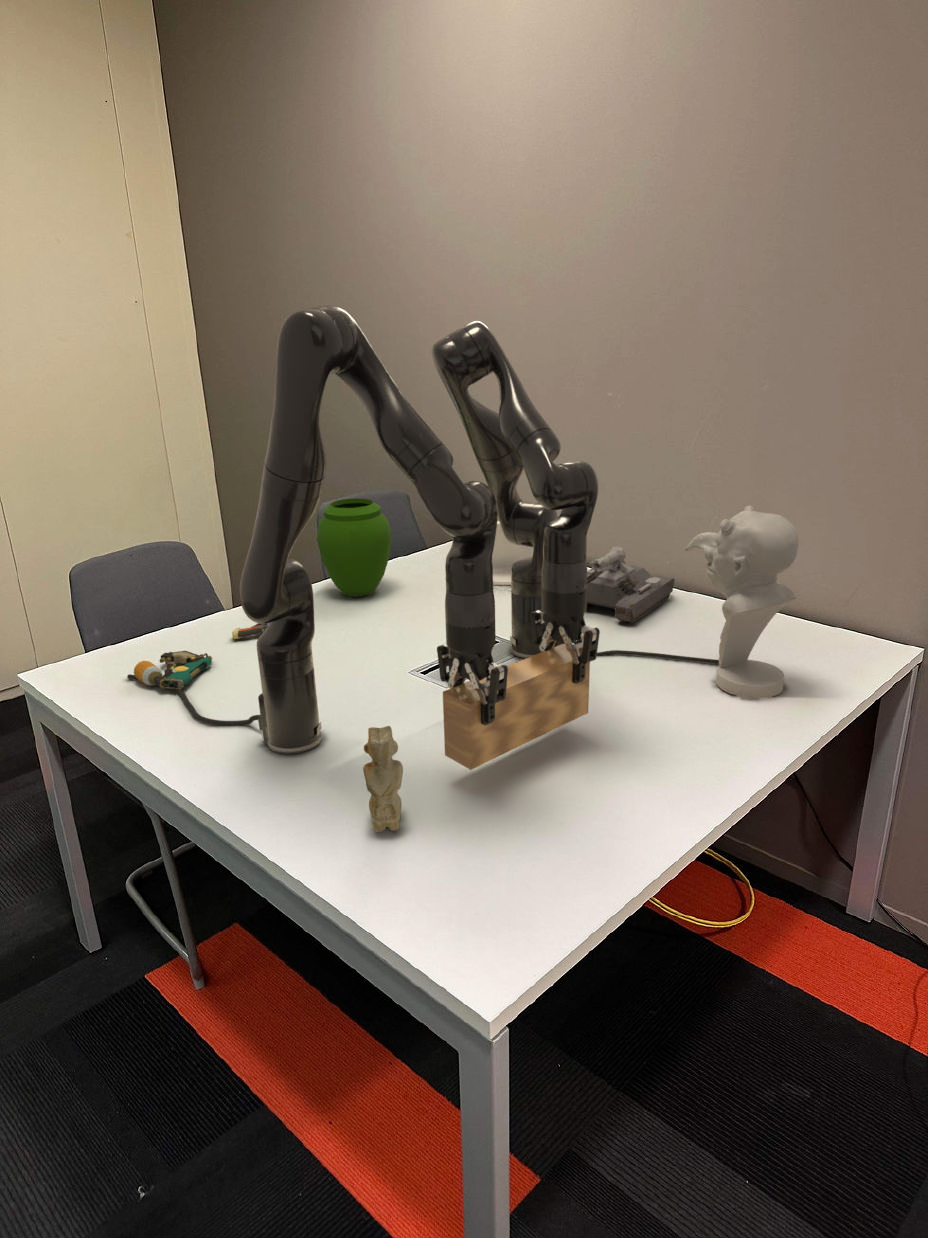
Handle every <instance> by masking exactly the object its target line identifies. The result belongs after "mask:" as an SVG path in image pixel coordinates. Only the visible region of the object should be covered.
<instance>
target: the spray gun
mask: <svg viewBox="0 0 928 1238" xmlns="http://www.w3.org/2000/svg"><path fill="white" fill-rule="evenodd" d="M212 660H213V657H212V656H211V655H208V653H207V652H205V653H201V654H197V653H194V652H192V651H191V652H190V651H188V650H180V651H169V652H164V653H162V654H161V655H160V658H159V660H158V662H159V663H161V664H163V663H165V664H166V668H165V670H163V672H164V674H163V673H162V669H160V668H159V666H157V665H156V664H154V663H152V662H151V661H149V660H141V661H139V662H138V663H136V665H135V666H134V668H133V675H135V677H136V678H137V679H139V680H138V681H140V682H142V683H143V684H145V685H147V686H155V685H157V686H158V687H160V688H161V689H171V690H174V689H181V690H182V689H184V687H185V686H186V685H188V684H189V683H190V682H191V681H192V679H193V678H195V677H196V676H197V675H198V674H200V673H201V672H202V671H203V670H206V669H208V668H209V667H210V666H211V665H212V662H213V661H212ZM178 663H179V664H181V665H179V666H176V665H177V664H178ZM166 684H167V685H168V686H167V685H166ZM176 686H177V687H176Z"/></svg>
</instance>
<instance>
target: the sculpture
mask: <svg viewBox="0 0 928 1238" xmlns="http://www.w3.org/2000/svg"><path fill="white" fill-rule="evenodd" d="M367 734H368V735H367V736H368V737H367V742H365V744H364V745H363V751H364V752H365V754H367V755H368V756H369V757H370V759H371V761H370V762H367V763H365V764H364V765H363V766H362V772H363V777H364V781H365V786H366V791H367V792H368V793H369V794H370V798H369V800H368V808H369V813H370V816H371V820H372V823H373V824H372V825H373V828H374V831H375V833H381V832H384V831H385V829H386V828H389V831H398V830H399V829H400V828H399V827H400V819H401V815H402V798H401V796H400V795H399V791H400V789H401V786H402V782H403V775H404V767H403V764H402V762H401V761H400V760H398V759H393V756H394V755H395V754H397V752H398V751H399V745H398V742H397V740H395V739H394V736H393V729H392V727H391V726H390V725H386V726H382V727H375V726H374V727H371V726H370V727H369V728H368V729H367Z"/></svg>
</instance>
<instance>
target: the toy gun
mask: <svg viewBox="0 0 928 1238" xmlns="http://www.w3.org/2000/svg"><path fill="white" fill-rule="evenodd" d="M269 624H270V623H265V624H260V623H256V624H254V625H252V626H250V627H245V628H241V627H237V628H235V629H233V630H232V632H231V635H232V638H233V640H238V639H243V638H247V637H250V636H255V635H259V634H262V633H263V632H264V631H265V630H266V629H267V627H268V626H269Z"/></svg>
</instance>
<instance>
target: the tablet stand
mask: <svg viewBox="0 0 928 1238" xmlns="http://www.w3.org/2000/svg"><path fill="white" fill-rule="evenodd" d="M533 549H534V547H528V546H520V545H515V544H512V543H510V542H509V541H508V540H507V539H506V538H505V536H504V534H503V531H502V528H501V525H500V522H499V520H497V529H496V536H495V544H494V549H493V555H492V564H493V586H511V567H512V565H513V563H515V562H516V561H519V560H522V559H526V558H530V557H532V556H533Z"/></svg>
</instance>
